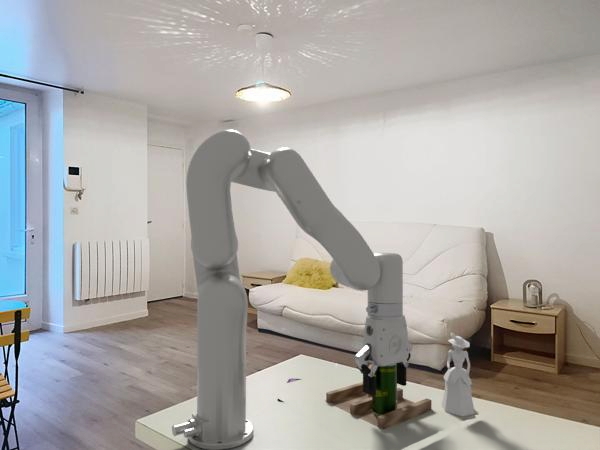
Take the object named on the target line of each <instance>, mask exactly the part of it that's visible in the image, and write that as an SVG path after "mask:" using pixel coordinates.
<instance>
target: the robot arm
mask: <svg viewBox="0 0 600 450" xmlns="http://www.w3.org/2000/svg"><path fill="white" fill-rule="evenodd" d="M185 181H186V182H185V183H186V184H185V186H186V198H187V199H186V200H187V208H188V217H189V218H188V219H189V226H190V235H191V238H190V249H191V252H192V260H193V267H194V268H193V269H194V275H195V281H196V288H197V305H196V306H197V307H196V311H197V312H196V314H197V319H196V320H197V322H196V324H197V326H196V327H197V328H196V329H197V330H196V331H197V335H196V336H197V340H196V341H197V343H196V344H197V348H196V352H197V353H196V354H197V355H196V356H197V361H196V362H197V366H196V367H197V371H196V372H197V373H196V375H197V376H196V377H197V379H196V380H197V381H196V382H197V383H196V412H192V413H191V418H189V419H188V420H187V421H185V422H179V423H176V424H173V425H171V432H172V435H173V437H176V436H179V435H183V437H184V439H186V438H188V441H189V442H190V443H191V444H192V445H193V446H195V447H196V448H200V449H204V450H229V449H233V448H237V447H240V446H241V445H243V444H245V443H247V442H248V441H250V440H251V439H252V437H253V435H254V425H253V423H252V422H251V421H250V420H249V419H247V417H246V416H247V415H246V413H247V408H246V407H247V402H246V401H247V400H246V399H247V395H246V394H247V325H248V324H247V323H248V310H249V309H248V308H249V306H248V305H249V304H248V302H249V301H248V295H247V291H246V288H245V286H244V285H243V283H242V282H241V275H240V269H239V260H238V254H237V253H238V250H239V240H238V237H237V233H236V228H235V227H236V226H235V222H234V215H233V207H232V206H233V205H232V197H231V195H232V194H231V187H232V183H235V184H239V185H243V186H247V187H251V188H254V189H257V190H263V191H266V192H267V191H268V192H273V193H276V194H277V196H278V197H279V199H280V200H281V202H282V203H283V204H284V206H285V207H286V209H287V210H288V212H289V214H290V215H291V216H292V218H293V219H294V221H295V223H296V224H297V225H298V227H299V228H300V229H301V230H303V231H304V233H306V234H307V235H308V236H310V237H311V238H313V239H314V240H315V241H317V242H318V243H319V244H320V245H321V246H322V247H323V248H324V249H325V250H326V251H327V253H328V254H329V256H330V257H331V258H332V259H331V262H330V265H329V266H330V267H329V272H330V275H331V277H332V278H333V280H334V281H335V282H337V283H338V284H340V285H342V286H344V287H347V288H350V289H353V290H357V291H360V292H364V291H367V307H366V309H365V310H366V312H367V316H366V318H365V323H364V329H363V330H364V331H363V345H362V346H363V347H362V349H360V351H358V352H357V353H356V354H355V356H354V361H355V364H356V367H357V369H358V370H359V372H360V374H362V382H363V392H365V393H367V394H369V395H372V396H375V395H376V376H373V375H374V373H375V371H376V369H377V367H378V366H379V367H385V366H389V365H392V364H396V363H397V385H400V386H402V387H403V386H407V367H408V366H409V361H410V359H411V356H412V355H411V353H412V351H413V348H414V347H413V346H414V345H413V344H412V343H411V342H409V334H408V326H407V320H406V316H405V315H404V313H403V311H404V309H403V308H404V307H403V305H404V304H403V303H404V301H403V300H404V299H403V297H404V296H403V295H404V294H403V293H404V288H403V287H404V286H403V285H404V283H403V281H404V280H403V279H404V275H403V271H404V270H403V268H404V267H403V264H404V263H403V262H404V261H403V258H402V255H401V254H399V253H396V252H395V253H394V252H373V250H372V249H371V248H370V246H369V244H368V243H367V241H366V239H365V238H363V236H362V234H361V233H360V232H359V230H358V229H357V228H356V227H355V226H354V224H352V222H351V221H349V220H348V219H347V218H346V216H345V215H344V214H343V213H342V212H341V211H340V210H339V209H338V208H337V207H336V206H335V205H334V203H332V201H331V199H330V198H329V196H328V195H327V193H326V192H325V190H324V189H323V188H322V186H321V184H320V183H319V182H318V180H317V179H316V177H315V175H314V173H313V172H312V171H311V169H310V168H309V166H308V165H307V163H306V162H305V160H304V159H303V158H302V156H301V155H300V154H299V153H298V151H296V150H294V149H292V148H289V147H281V148H278V149H276V150H273V151H272V152H271V153H270V152H266V151H261V150H258V149H257V150H256V149H253V148H252V147H251V145H250V142H249V140H248V138H247V137H246V136H245V135H244V134H243V133H242V132H240V131H237V130H234V129H224V130H220V131H218V132H215V133H213V134H212V135H210V136H209V137H208V138H206V139H205V140H204V141H203V142H202V143H200V145H199V146H198V147H197V149H196V150H195V152H194V153H193V155H192V157H191V159H190V161H189V164H188V168H187V171H186V180H185ZM372 360H373V361H372ZM370 364H371V365H372V366H371V368H370V369H369V368H368V367H369V365H370Z"/></svg>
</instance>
